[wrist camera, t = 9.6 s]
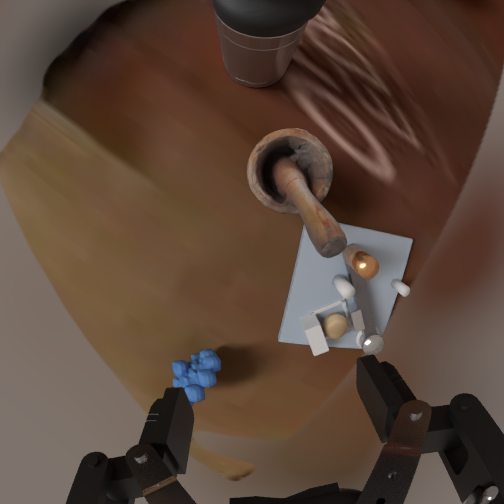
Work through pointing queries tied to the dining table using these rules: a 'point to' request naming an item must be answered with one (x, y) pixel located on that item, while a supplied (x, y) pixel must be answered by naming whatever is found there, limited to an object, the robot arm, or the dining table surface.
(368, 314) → the lever
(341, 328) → the hazelnut
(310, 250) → the nutcracker base
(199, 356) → the blue lumpy cluster
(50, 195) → the dining table surface
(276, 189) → the mortar and pestle
